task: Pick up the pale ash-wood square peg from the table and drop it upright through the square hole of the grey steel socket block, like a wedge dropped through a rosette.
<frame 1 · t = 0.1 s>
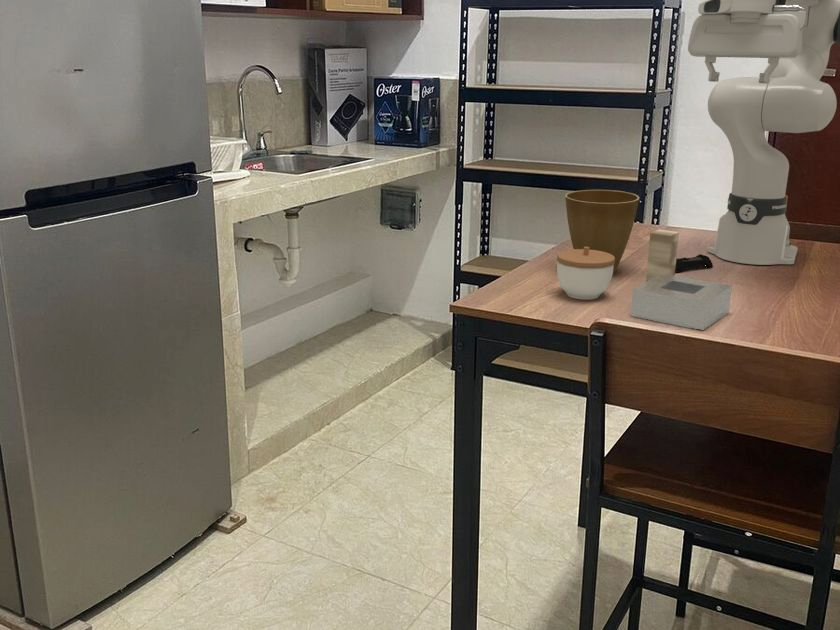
hand: (738, 82, 160), 39 cm above the table, tool pointing down, fingers open, 8 cm apart
lidded jar: (582, 296, 161), on the table
electric trimmer: (681, 272, 180), on the table
socket block: (679, 314, 150), on the table
plant pot: (596, 271, 178), on the table
ash peg: (658, 293, 162), on the table
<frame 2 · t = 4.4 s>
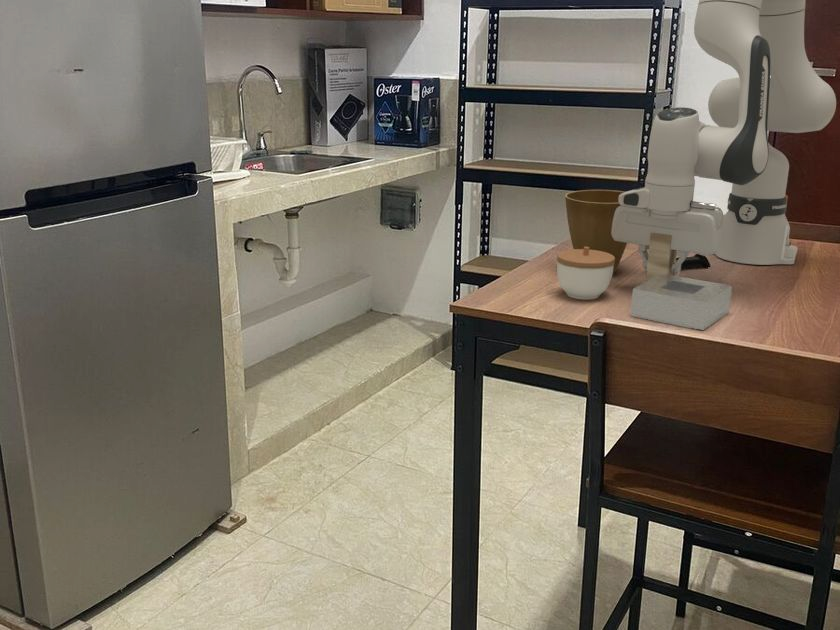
hand: (661, 270, 161), 5 cm above the table, tool pointing down, fingers closed on ash peg, 4 cm apart
ash peg: (658, 293, 162), on the table, touching gripper
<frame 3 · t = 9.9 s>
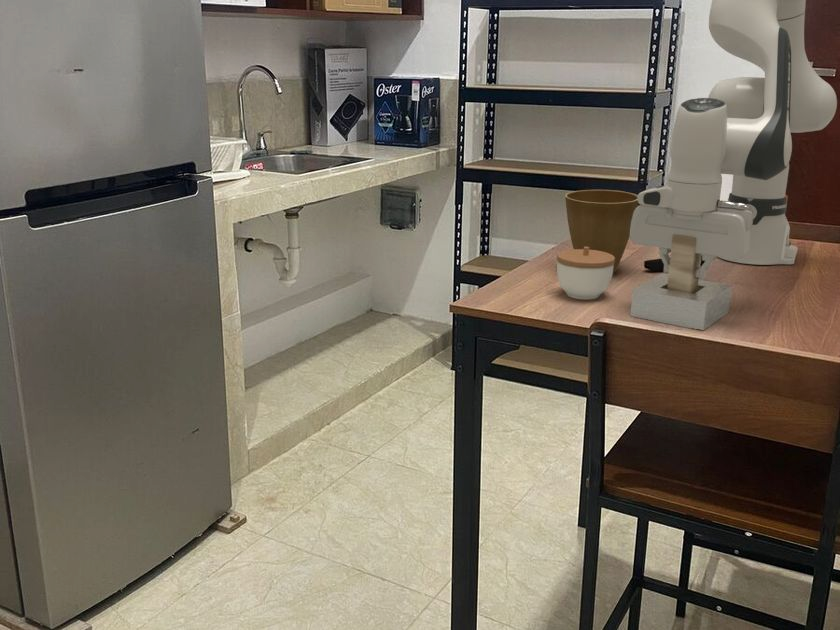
hand: (683, 275, 148), 7 cm above the table, tool pointing down, fingers closed on ash peg, 4 cm apart
ash peg: (681, 301, 149), point 2 cm above the table, touching gripper
when the fingers open (6 cm above the table, at t = 10.8 s): ash peg drops 1 cm, resting in socket block.
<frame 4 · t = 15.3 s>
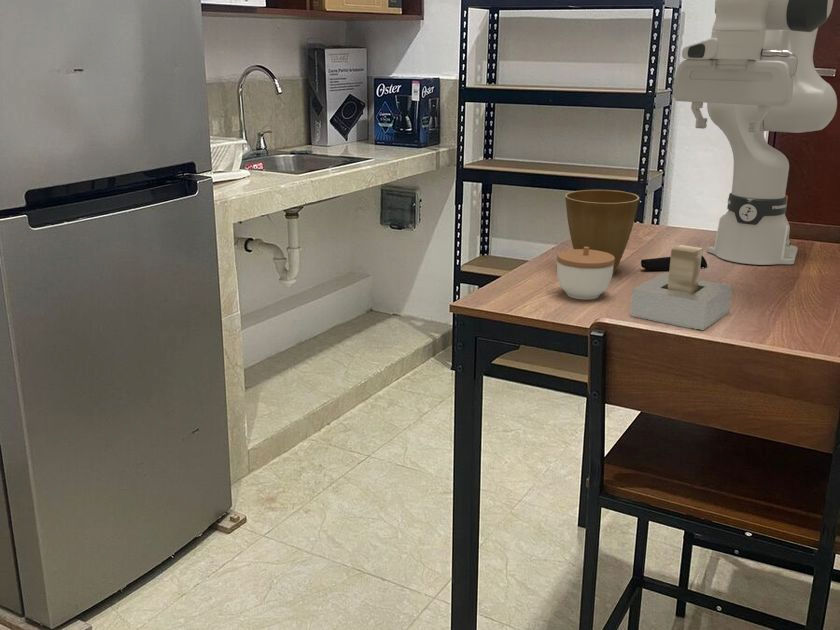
hand: (726, 130, 151), 31 cm above the table, tool pointing down, fingers open, 8 cm apart
ash peg: (679, 314, 150), resting in socket block
at the end: ash peg 0.0 cm off-centre on the socket block, point 0.0 cm above the socket block's base; ash peg tilted 0°; the gripper is holding nothing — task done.
